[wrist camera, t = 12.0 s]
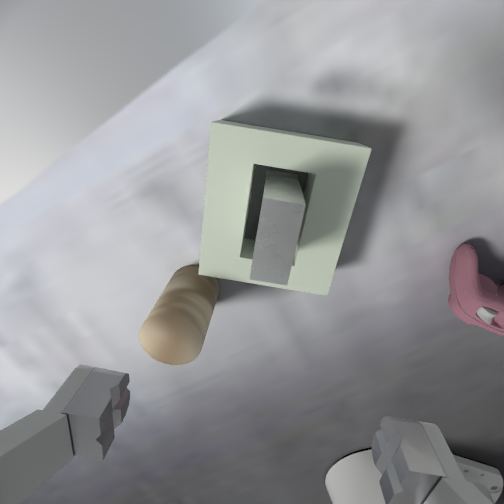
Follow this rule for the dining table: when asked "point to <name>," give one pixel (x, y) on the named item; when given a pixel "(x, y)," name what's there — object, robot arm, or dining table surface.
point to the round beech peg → (180, 317)
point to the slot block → (316, 196)
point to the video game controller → (474, 292)
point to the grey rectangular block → (278, 228)
